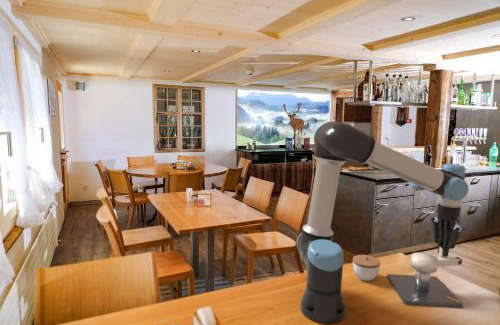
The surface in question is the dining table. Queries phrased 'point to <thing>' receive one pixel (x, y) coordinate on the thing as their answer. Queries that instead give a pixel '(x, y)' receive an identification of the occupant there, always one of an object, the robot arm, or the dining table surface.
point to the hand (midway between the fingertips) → (441, 262)
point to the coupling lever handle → (432, 262)
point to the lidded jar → (366, 267)
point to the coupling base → (422, 296)
